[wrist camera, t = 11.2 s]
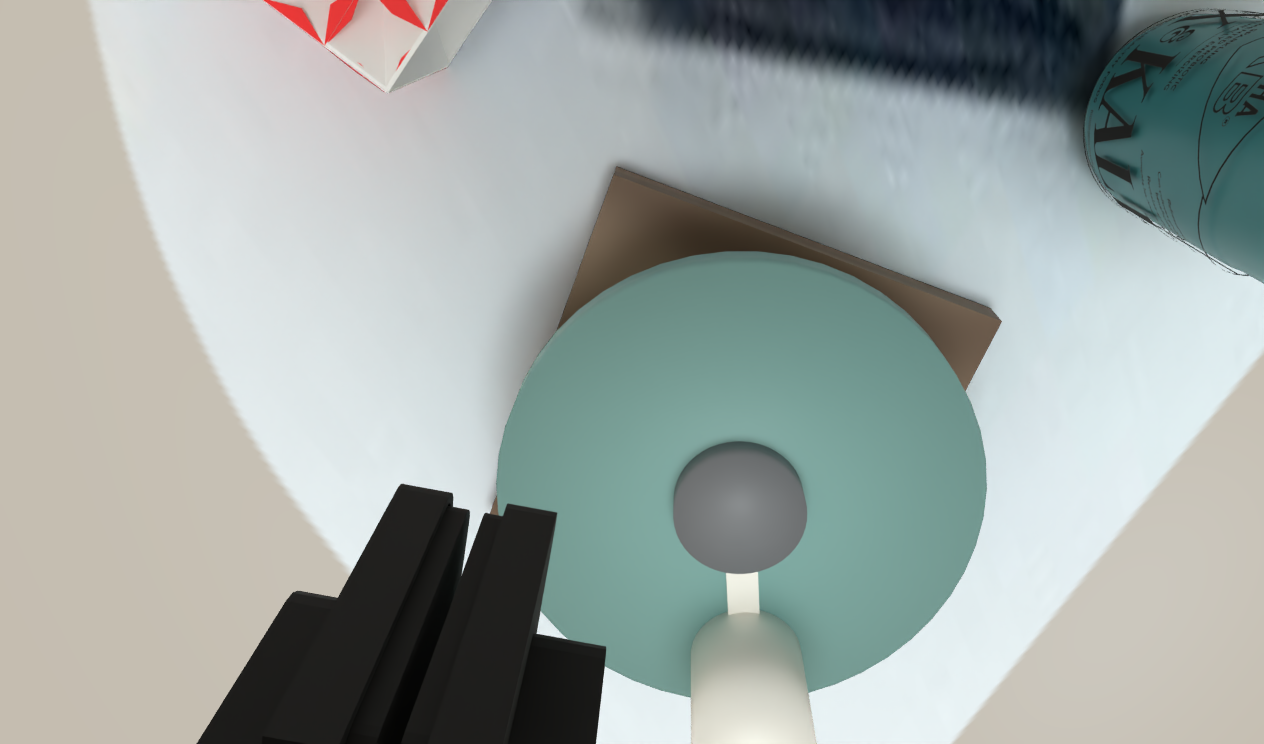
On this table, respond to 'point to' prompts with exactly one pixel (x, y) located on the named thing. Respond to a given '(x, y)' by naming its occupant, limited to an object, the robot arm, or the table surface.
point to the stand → (687, 225)
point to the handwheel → (746, 483)
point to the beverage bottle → (1188, 133)
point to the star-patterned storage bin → (387, 34)
